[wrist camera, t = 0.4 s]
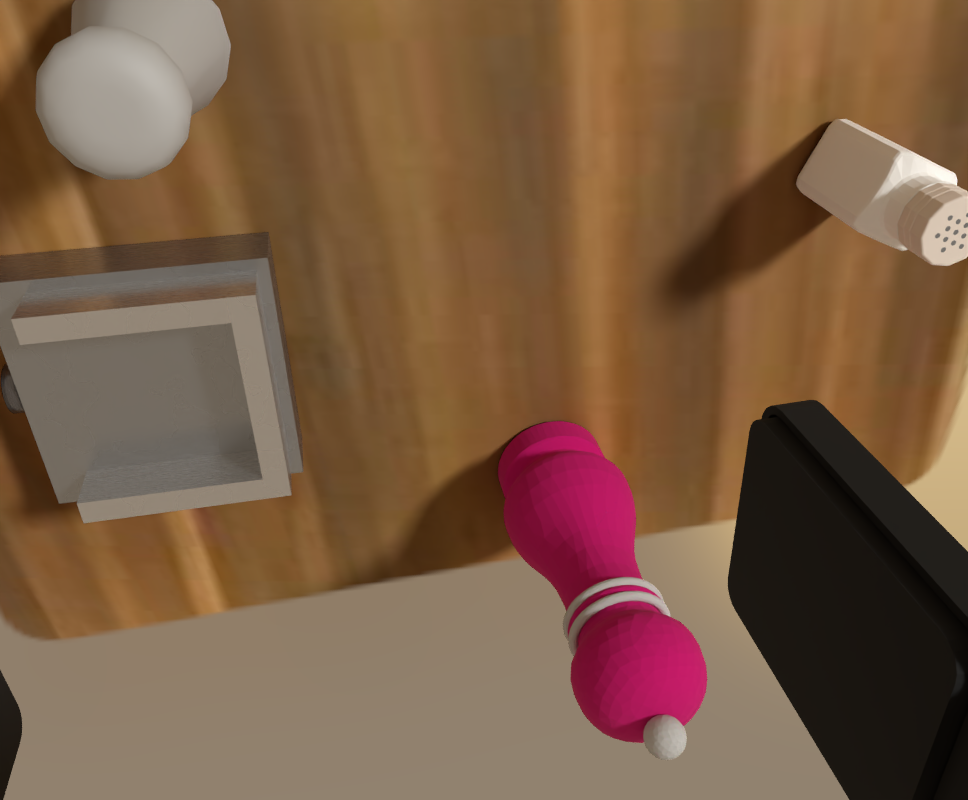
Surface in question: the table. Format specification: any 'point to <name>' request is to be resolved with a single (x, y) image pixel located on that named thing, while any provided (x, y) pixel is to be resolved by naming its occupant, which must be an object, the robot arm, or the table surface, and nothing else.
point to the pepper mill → (601, 587)
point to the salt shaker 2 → (888, 193)
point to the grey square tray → (152, 373)
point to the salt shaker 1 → (131, 82)
